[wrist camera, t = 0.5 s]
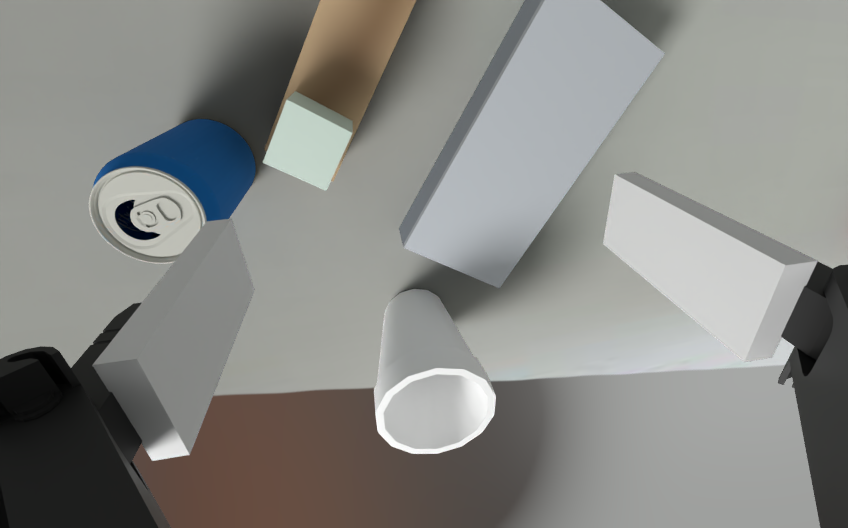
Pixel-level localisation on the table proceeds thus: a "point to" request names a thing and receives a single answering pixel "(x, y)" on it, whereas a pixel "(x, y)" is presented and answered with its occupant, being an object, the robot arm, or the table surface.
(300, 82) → the tan wooden bar
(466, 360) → the foam cup
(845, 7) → the table surface
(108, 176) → the beverage can
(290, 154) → the block
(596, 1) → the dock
